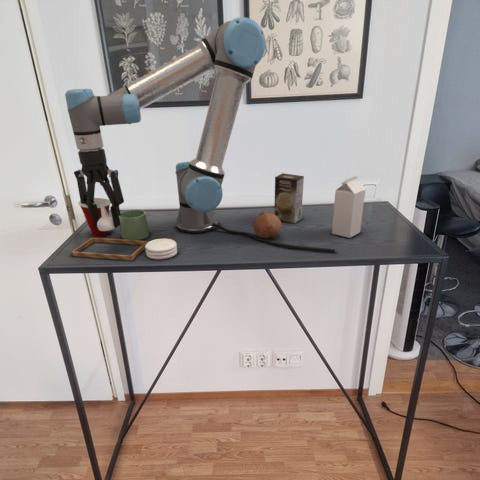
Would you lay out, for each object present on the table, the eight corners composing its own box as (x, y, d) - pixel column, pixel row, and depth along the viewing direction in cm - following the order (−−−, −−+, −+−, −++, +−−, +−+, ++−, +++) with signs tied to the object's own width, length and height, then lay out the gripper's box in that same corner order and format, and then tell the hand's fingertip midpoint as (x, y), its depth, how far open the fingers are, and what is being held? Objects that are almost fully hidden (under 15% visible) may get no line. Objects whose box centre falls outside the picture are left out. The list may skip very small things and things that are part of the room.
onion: (258, 244, 148) (249, 216, 146) (284, 235, 147) (275, 207, 146) (258, 244, 139) (249, 214, 137) (286, 235, 138) (277, 205, 136)
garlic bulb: (111, 233, 132) (105, 208, 128) (94, 232, 134) (88, 207, 130) (122, 226, 137) (117, 202, 133) (105, 225, 139) (100, 201, 135)
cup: (153, 231, 153) (150, 210, 149) (142, 241, 145) (138, 218, 141) (129, 230, 155) (125, 209, 151) (116, 239, 148) (112, 217, 143)
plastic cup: (108, 240, 147) (101, 206, 141) (80, 238, 149) (72, 205, 143) (121, 229, 156) (115, 197, 150) (95, 228, 158) (88, 196, 152)
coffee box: (273, 219, 161) (273, 176, 152) (280, 215, 165) (281, 172, 157) (294, 223, 156) (296, 179, 148) (302, 218, 161) (304, 175, 153)
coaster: (179, 257, 133) (178, 247, 131) (148, 262, 130) (146, 251, 128) (174, 246, 141) (173, 236, 139) (144, 250, 138) (143, 240, 137)
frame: (149, 244, 143) (148, 241, 142) (131, 260, 132) (131, 256, 131) (93, 241, 147) (92, 237, 146) (71, 256, 136) (70, 252, 135)
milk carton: (360, 232, 146) (367, 176, 136) (349, 238, 142) (356, 181, 132) (342, 228, 151) (347, 173, 141) (331, 234, 146) (336, 177, 136)
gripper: (54, 151, 122) (74, 228, 134) (114, 151, 118) (129, 231, 130) (69, 146, 128) (87, 220, 140) (126, 146, 124) (140, 222, 136)
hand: (107, 225), depth 135 cm, fingers closed on garlic bulb, 6 cm apart
